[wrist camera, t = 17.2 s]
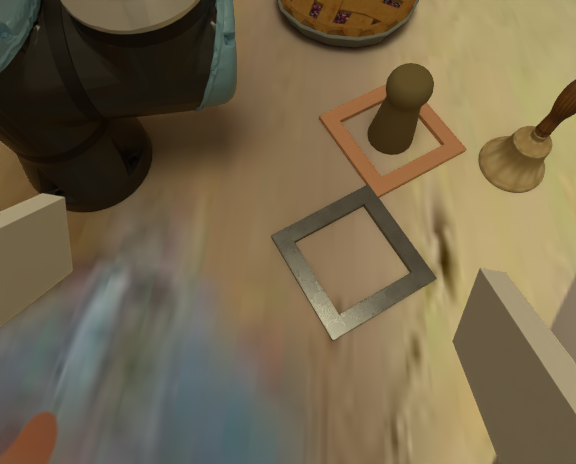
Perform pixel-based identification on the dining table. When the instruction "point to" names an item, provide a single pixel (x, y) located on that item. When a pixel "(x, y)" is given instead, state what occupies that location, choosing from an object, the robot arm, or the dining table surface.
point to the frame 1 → (406, 172)
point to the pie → (347, 19)
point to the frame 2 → (375, 303)
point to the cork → (400, 108)
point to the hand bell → (525, 149)
